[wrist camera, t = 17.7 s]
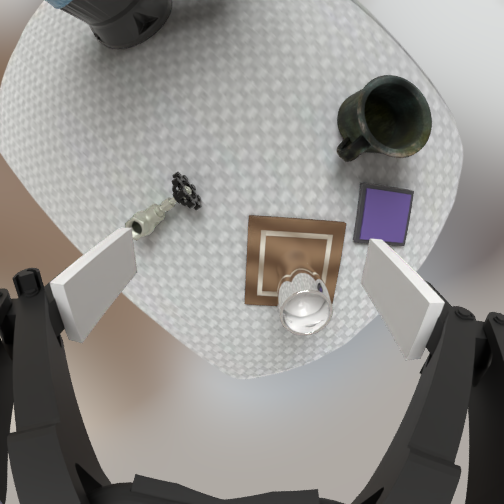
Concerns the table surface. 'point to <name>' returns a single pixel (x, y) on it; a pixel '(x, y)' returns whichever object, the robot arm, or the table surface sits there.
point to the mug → (384, 119)
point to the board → (281, 240)
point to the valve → (164, 207)
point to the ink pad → (383, 214)
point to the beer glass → (301, 294)
